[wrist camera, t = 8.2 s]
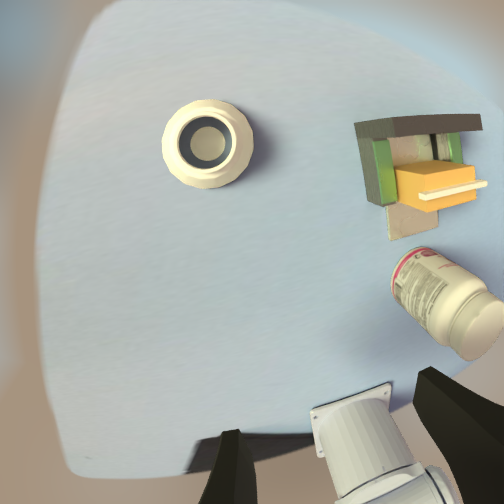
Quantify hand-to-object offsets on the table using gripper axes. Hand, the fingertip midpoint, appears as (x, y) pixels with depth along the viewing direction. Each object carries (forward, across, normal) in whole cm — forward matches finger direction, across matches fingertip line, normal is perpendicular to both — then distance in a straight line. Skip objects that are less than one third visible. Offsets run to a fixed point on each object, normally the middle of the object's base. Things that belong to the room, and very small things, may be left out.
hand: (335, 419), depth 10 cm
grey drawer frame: (+10, -10, -6) cm, 16 cm away
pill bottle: (+11, -10, +1) cm, 15 cm away
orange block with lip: (+10, -10, -6) cm, 15 cm away
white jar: (+11, +2, -10) cm, 15 cm away
